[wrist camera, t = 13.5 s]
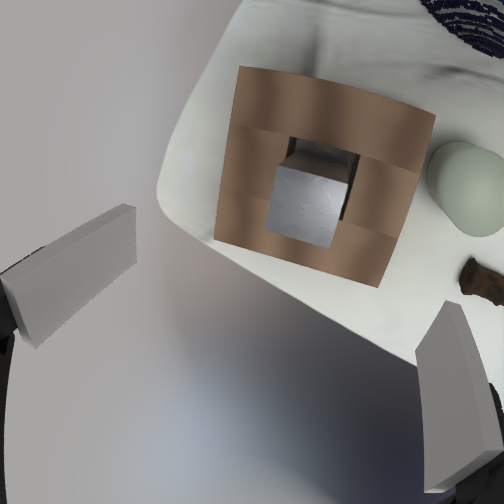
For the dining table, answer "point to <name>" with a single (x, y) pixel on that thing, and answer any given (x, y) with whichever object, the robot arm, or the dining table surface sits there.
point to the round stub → (468, 187)
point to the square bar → (308, 195)
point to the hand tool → (482, 283)
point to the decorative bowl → (471, 23)
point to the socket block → (332, 134)
